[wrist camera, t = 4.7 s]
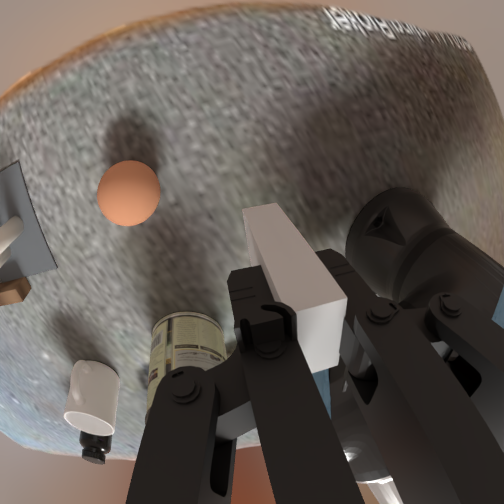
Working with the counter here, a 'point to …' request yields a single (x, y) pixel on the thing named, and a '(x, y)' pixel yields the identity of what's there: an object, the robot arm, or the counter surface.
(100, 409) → the mug
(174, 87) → the counter surface
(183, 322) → the coffee can
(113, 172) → the ball
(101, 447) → the supplement bottle
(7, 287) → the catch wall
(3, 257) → the pin
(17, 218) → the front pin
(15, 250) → the pin deck mark
